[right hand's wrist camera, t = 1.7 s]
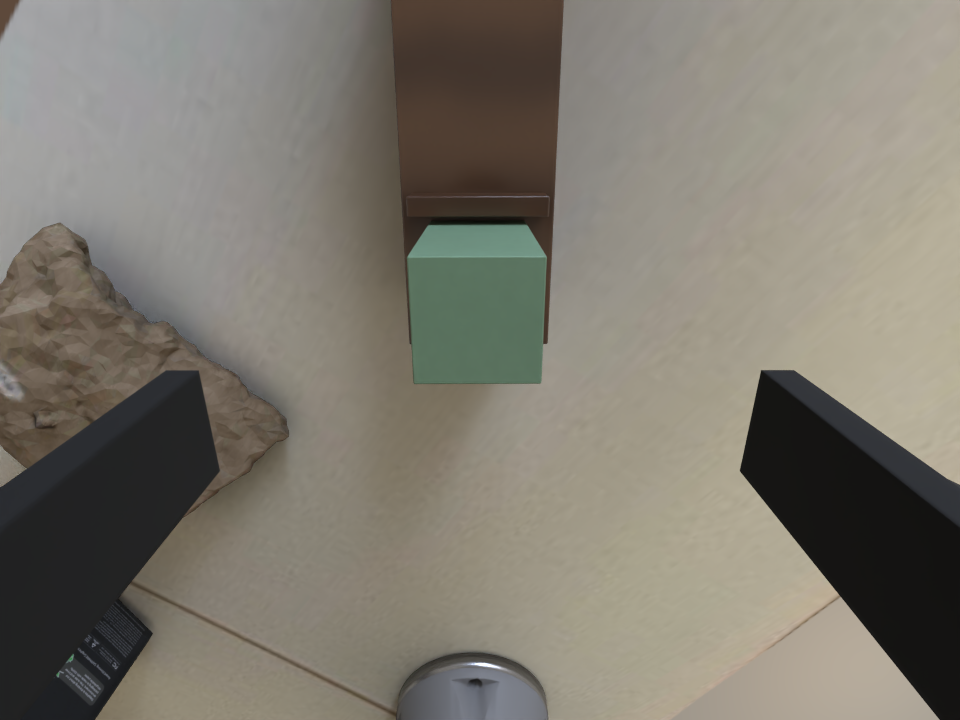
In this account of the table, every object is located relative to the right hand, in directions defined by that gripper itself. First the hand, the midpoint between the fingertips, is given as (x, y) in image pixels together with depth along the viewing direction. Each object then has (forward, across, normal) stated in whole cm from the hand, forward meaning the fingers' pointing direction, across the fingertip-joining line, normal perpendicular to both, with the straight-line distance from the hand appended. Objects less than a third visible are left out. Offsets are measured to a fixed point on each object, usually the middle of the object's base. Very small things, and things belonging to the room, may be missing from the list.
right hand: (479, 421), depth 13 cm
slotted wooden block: (+27, 0, -8) cm, 28 cm away
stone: (+27, +26, +11) cm, 39 cm away
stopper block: (+18, 0, 0) cm, 18 cm away
